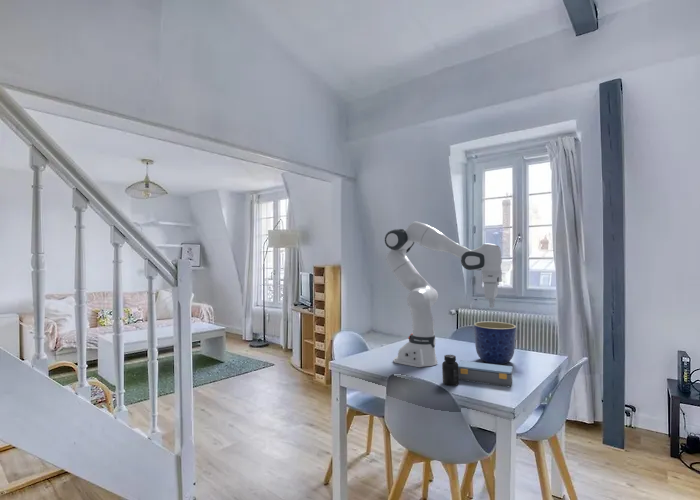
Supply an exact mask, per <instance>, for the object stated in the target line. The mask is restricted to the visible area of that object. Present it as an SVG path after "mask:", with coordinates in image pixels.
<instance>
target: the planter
mask: <svg viewBox="0 0 700 500" xmlns="http://www.w3.org/2000/svg"><path fill="white" fill-rule="evenodd" d="M473 329H474V331H473V332H474V344H475V351H476V354H477V356H478V357H479V359H480V360H482V362H483V361H484V362H486V363H487V364H495V365H504V364H506V363H509V362H510V361H511V360H513V357H514V355H515V348H516V334H517V332H516V331H517V325H516V324H513V323H509V322H503V321H502V322H501V321H478V322H474V324H473Z"/></svg>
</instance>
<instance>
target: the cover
mask: <svg viewBox="0 0 700 500" xmlns="http://www.w3.org/2000/svg"><path fill="white" fill-rule="evenodd" d="M458 368H462V369H461V374H468V369H470V370H479V371H487V372H495V373H499V378H500V379H507V374H511V373H512V374H513V368H514V367H513V366H511V365H504V364H492V363H487V362H486V363H484V362H476V361H469V360H460V361H459V363H458ZM502 373H503V374H502Z"/></svg>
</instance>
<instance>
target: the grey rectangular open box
mask: <svg viewBox="0 0 700 500" xmlns="http://www.w3.org/2000/svg"><path fill="white" fill-rule="evenodd" d="M461 369H462V368H458V372H459V381H464V382H465V381H466V382H470V383H471V382H472V383H480V384H487V385H493V386H494V385H495V386H500V385H501V386H502V387H507V386H509V387H508V388H511V387H512V383H513V372H512V373H511V374H507V379H500V378H499V373H495V372H487V371H479V370H470V369H468V374H461ZM502 374H503V373H502Z"/></svg>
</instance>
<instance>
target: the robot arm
mask: <svg viewBox="0 0 700 500" xmlns="http://www.w3.org/2000/svg"><path fill="white" fill-rule="evenodd" d="M384 236H385V237H384V243H385V246H386V247H387V248H388V249H390V250H389V251H387V253H386V255H385V260H386V262H387V265H388V267H389V268H390V271H391V272H392V273H393V275H394V276H395V278H396V280H397V281H398V282H399V284H400V285H401V286H402V287H403V288H405V289H406V290H407V291H408V292H409V293H408V294H407V297H406V302H407V305H408V306H409V309H410V313H411V314H410V315H411V321H412V325H411V326H412V332H411V334H409V336H408V342H406V343H405V344H404V345H403V346H401V347H400V348H399V350H398V353H397V356H395V357H394V358H393V363H395V364H399V365H405V366H409V367H410V366H411V367H415V368H423V367H432V366H435V365H438V360H437V359H438V358H437V355H436V336H435V319H434V318H433V313H432V306H434V305H435V304H436V303H437V301H438V299H439V293H438V290H437V289H435V288H434V287H433V286H432V285H431V283H429V282H428V281H427V280H426V279H425V277H423V276H422V275H421V274H420V273H419V271H418V270H417V269H416V267H415V266H414V264H413V263H412V261H411V260H410V259H409V257H408V256H407V253H409V251H410V250H411V248H412V247H413V246H414V244H418V245H419V246H421V247H423V248H426V249H428V250H431V251H434V252H443V253H444V252H445V253H448V254H450V255H453V256H455V257H456V258H459V259H460V264H461V266H462V267H463V268H464V269H465V270H468V271H481V282H482V283H483V290H484V291H483V292H484V298H485V300H488V302H489V308H491V309H493V308H494V307H495V299H496V297H497V296H498V295H499V293H498V292H499V290H498V289H499V288H498V287H499V285H500V283H501V282H502V280H503V279H502V278H503V277H502V275H503V274H502V273H503V271H502V266H501V265H502V251H501V247H500V246H499V245H497V244H495V243H487V242H486V243H485V242H484V243H482V245H480V246H478V247H477V248H474V249H470V248H468V247H466V246H464V245H461V244H460V243H458V242H455V241H454V240H453V239H451V238H449V237H448V236H446V235H445V234H444V233H443V232H441V231H440V230H438V229H437V228H435V227H433V226H431V225H428V224H427V223H424V222H420V221H417V220H414V221H413V222H410V224H409V225H408V226H407V227H406V229H403V228H398V229H391V230H390V231H388V232H387V233H386V234H385V235H384Z"/></svg>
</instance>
